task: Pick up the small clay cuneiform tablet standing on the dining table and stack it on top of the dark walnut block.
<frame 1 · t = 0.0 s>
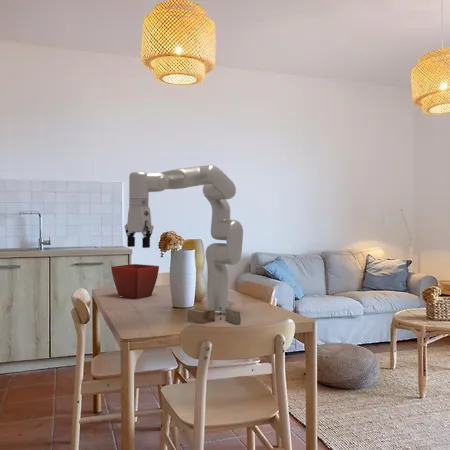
hand: (138, 247, 188), 31 cm above the table, tool pointing down, fingers open, 9 cm apart
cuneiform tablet: (230, 322, 199), on the table
walnut block: (201, 321, 200), on the table
plant pot: (135, 297, 263), on the table
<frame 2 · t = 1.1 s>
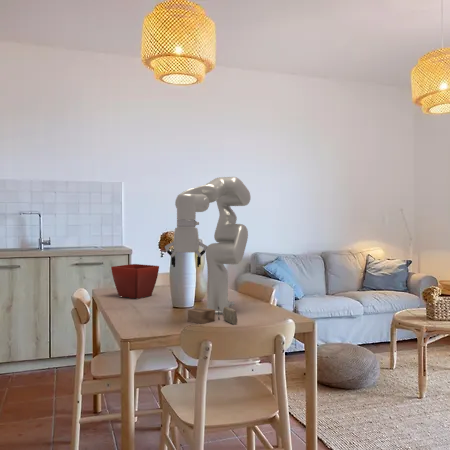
hand: (186, 266, 193), 23 cm above the table, tool pointing down, fingers open, 9 cm apart
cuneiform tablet: (227, 322, 199), on the table
everything else where it was.
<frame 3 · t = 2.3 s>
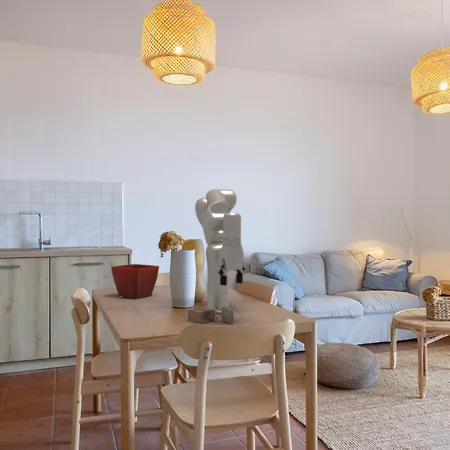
hand: (231, 284, 198), 16 cm above the table, tool pointing down, fingers open, 9 cm apart
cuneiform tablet: (225, 322, 199), on the table
everything else where it was.
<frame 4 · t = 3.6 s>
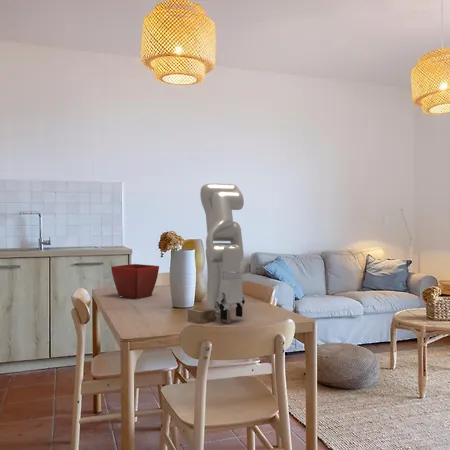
hand: (231, 317, 198), 2 cm above the table, tool pointing down, fingers open, 8 cm apart
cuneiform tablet: (223, 321, 200), on the table, touching gripper
everything else where it was.
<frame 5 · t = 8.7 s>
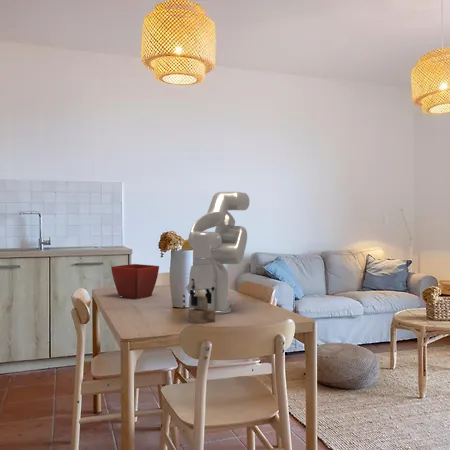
hand: (201, 304, 200), 7 cm above the table, tool pointing down, fingers open, 7 cm apart
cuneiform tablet: (195, 309, 201), point 4 cm above the table
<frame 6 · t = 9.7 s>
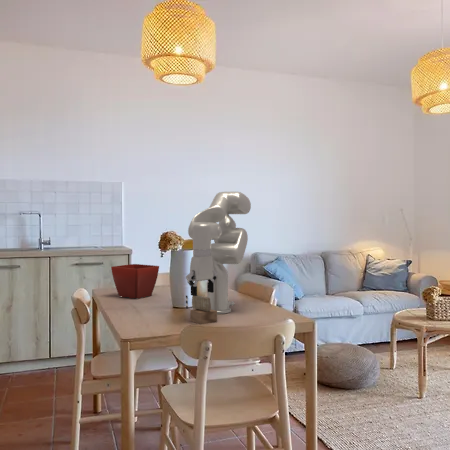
hand: (202, 293, 201), 11 cm above the table, tool pointing down, fingers open, 9 cm apart
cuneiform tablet: (198, 310, 200), point 4 cm above the table, touching walnut block
walnut block: (203, 322, 199), on the table, touching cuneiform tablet
everything else where it was.
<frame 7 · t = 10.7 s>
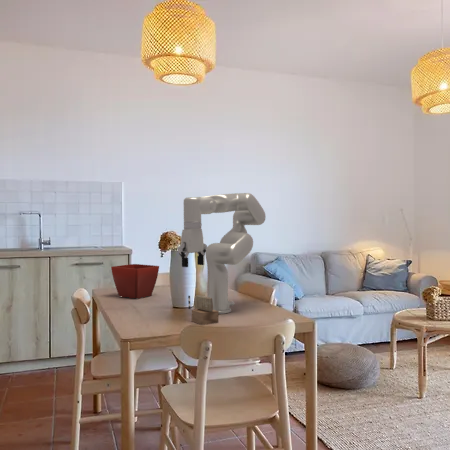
hand: (192, 265, 206), 22 cm above the table, tool pointing down, fingers open, 9 cm apart
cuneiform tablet: (200, 310, 199), point 5 cm above the table, touching walnut block
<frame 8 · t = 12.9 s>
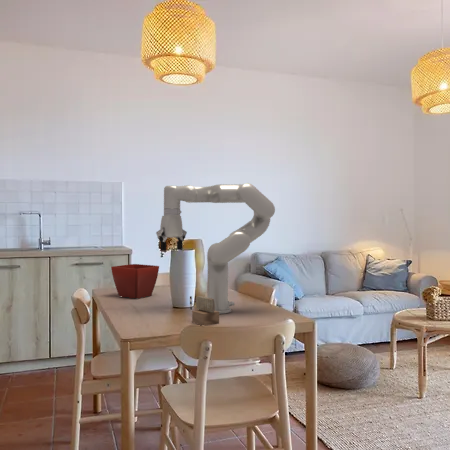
hand: (171, 250, 219), 28 cm above the table, tool pointing down, fingers open, 9 cm apart
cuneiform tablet: (202, 311, 197), point 4 cm above the table, touching walnut block
walnut block: (205, 323, 197), on the table, touching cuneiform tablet
everything else where it was.
at the end: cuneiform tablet inside the target area on the walnut block (1.6 cm from its centre), point 4.8 cm above the walnut block's base; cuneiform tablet touching walnut block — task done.
